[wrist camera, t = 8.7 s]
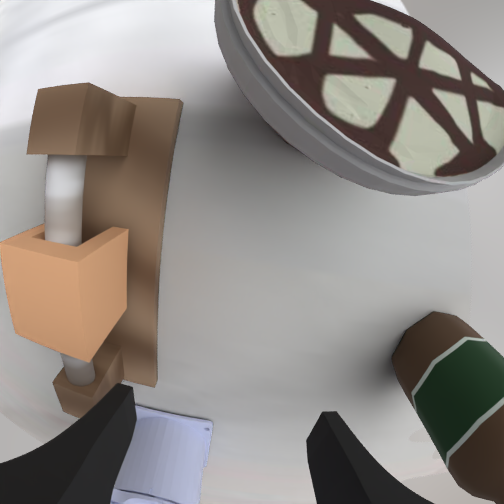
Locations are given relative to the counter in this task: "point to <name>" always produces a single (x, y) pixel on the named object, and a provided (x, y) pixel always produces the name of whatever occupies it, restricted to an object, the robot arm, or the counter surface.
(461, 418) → the beer bottle
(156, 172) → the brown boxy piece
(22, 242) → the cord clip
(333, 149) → the food container
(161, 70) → the counter surface
